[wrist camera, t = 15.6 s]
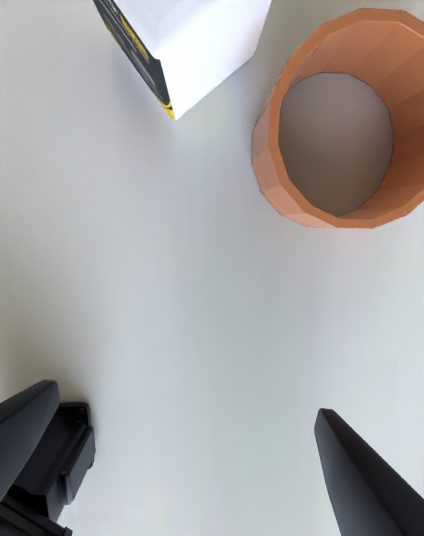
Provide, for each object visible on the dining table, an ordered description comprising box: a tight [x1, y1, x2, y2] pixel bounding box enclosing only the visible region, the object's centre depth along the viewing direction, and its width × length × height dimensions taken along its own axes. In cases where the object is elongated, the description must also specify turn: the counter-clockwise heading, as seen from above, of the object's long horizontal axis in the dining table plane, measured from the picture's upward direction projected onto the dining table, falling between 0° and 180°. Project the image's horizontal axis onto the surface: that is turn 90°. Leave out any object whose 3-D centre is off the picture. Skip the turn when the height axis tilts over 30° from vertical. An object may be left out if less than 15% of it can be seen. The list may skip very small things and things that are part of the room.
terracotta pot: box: [251, 8, 424, 229], centre depth 16 cm, size 11×11×4 cm
